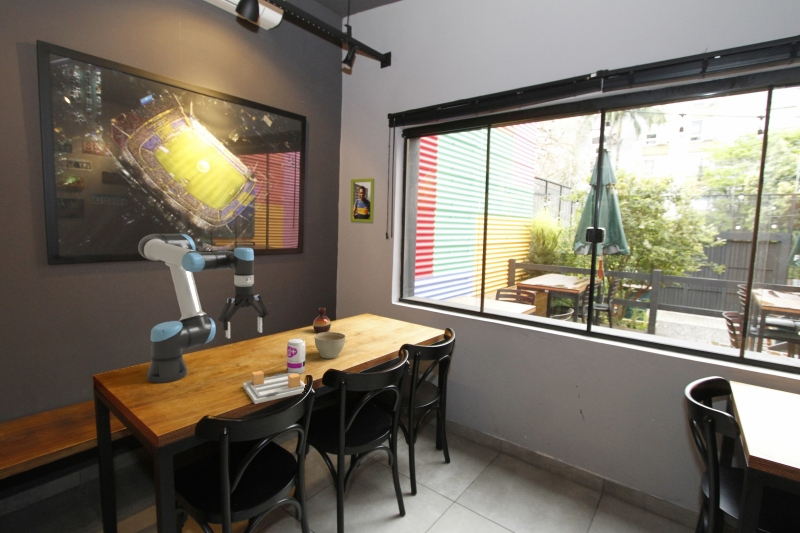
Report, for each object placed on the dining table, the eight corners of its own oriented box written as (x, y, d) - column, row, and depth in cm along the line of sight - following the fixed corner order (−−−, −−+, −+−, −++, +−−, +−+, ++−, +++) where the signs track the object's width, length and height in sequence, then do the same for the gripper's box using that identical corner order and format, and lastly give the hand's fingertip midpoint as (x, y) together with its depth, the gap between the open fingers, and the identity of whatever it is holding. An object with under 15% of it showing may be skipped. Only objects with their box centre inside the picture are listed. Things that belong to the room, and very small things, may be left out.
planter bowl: (351, 356, 205) (351, 336, 203) (326, 363, 193) (326, 342, 192) (332, 348, 216) (333, 329, 214) (307, 355, 204) (308, 335, 203)
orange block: (254, 386, 159) (254, 375, 159) (251, 383, 162) (251, 372, 162) (263, 384, 162) (263, 373, 161) (261, 381, 165) (261, 370, 164)
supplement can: (295, 376, 176) (296, 344, 174) (283, 372, 180) (283, 340, 178) (308, 371, 182) (309, 340, 181) (296, 367, 187) (296, 336, 185)
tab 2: (290, 389, 158) (291, 377, 158) (288, 386, 161) (288, 375, 161) (300, 387, 161) (300, 376, 160) (297, 384, 164) (297, 373, 163)
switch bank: (255, 404, 148) (255, 397, 148) (242, 386, 163) (242, 380, 162) (309, 391, 161) (309, 385, 160) (293, 376, 175) (293, 371, 175)
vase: (328, 334, 242) (329, 310, 240) (311, 333, 242) (311, 309, 240) (332, 329, 253) (332, 306, 251) (315, 328, 253) (315, 305, 251)
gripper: (216, 289, 149) (217, 342, 151) (276, 283, 166) (276, 331, 169) (209, 286, 154) (210, 337, 156) (268, 281, 172) (268, 327, 174)
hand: (244, 334), depth 162 cm, fingers open, 13 cm apart
